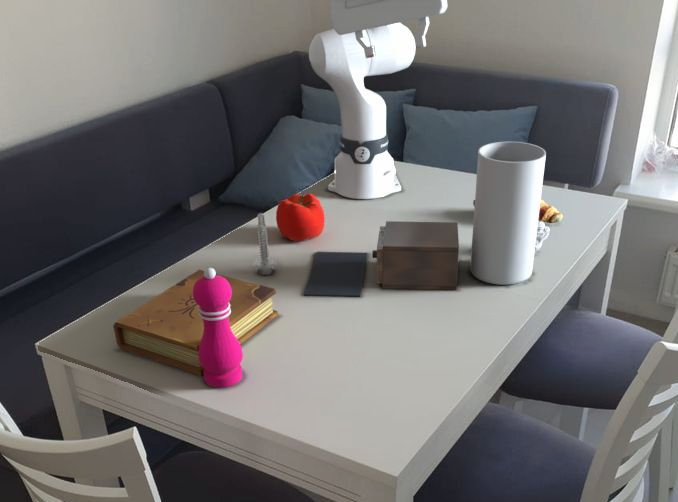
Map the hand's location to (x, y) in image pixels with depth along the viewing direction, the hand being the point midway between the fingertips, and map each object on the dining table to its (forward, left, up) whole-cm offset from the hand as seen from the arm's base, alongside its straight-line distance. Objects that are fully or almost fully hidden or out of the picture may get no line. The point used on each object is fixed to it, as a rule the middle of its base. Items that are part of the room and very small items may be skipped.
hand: (395, 52), depth 142 cm
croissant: (-29, +28, -43) cm, 59 cm away
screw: (+2, -26, -43) cm, 50 cm away
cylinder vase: (0, +22, -43) cm, 48 cm away
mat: (+2, -12, -43) cm, 44 cm away
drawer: (+2, +3, -42) cm, 42 cm away
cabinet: (+2, +6, -43) cm, 43 cm away
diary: (+27, -34, -43) cm, 61 cm away
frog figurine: (-10, +29, -43) cm, 53 cm away
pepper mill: (+42, -27, -43) cm, 66 cm away
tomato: (-17, -21, -43) cm, 51 cm away
